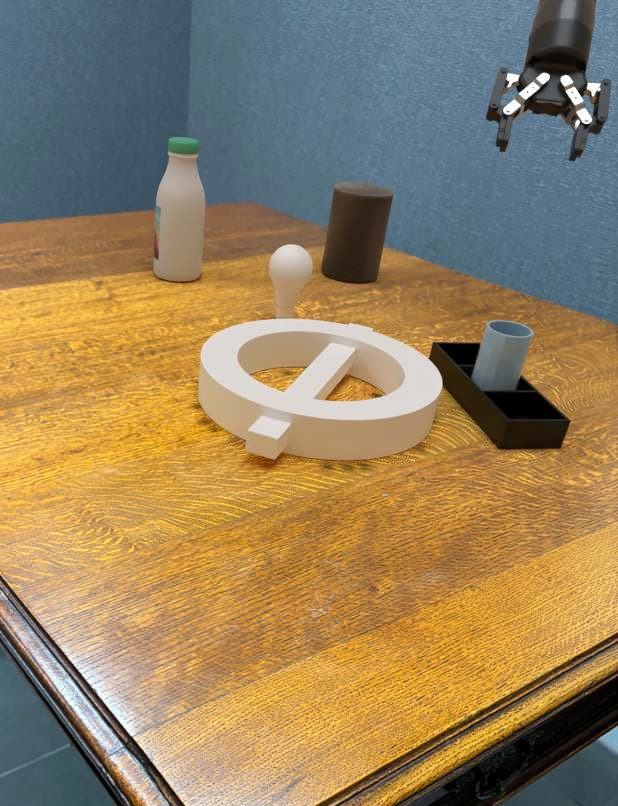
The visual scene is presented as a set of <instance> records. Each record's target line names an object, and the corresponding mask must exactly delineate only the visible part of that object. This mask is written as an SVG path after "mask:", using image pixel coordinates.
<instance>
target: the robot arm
mask: <svg viewBox="0 0 618 806" xmlns="http://www.w3.org/2000/svg"><path fill="white" fill-rule="evenodd" d="M597 3H598V0H538V4H537V9H536V12H535V16H534V19H533V20H532V25H531V30H530V33H529V35H528V45H527V48H526V49H527V50H526V53H525V60H524V65H523V69H522V70H523V71H522V72H521V73H520V74H515V73H509V68H508V67H507V66H502V67H500V68H499V69H498V71H497V75H496V79H495V83H494V85H493V89H492V93H491V97H490V100H489V104H488V107H487V110H486V111H487V112H486V114H485V119H486V121H488V122H493V121H494V122H496V123H497V124H498V129H497V133H496V138H495V146H496V148H499V152H500V153H506V151H507V148H508V145H509V142H510V141H509V140H510V136H511V131H512V126H513V123H514V122H515V121H516V120H520V118H522V117H523V116H524V115H525V114H527V113H528V112H529V111H530V112H531V114H533V115H548V116H550V117H556V118H557V117H558V116H559V115H560V116H561V119H563V121H564V122H565V124H566V125H567V126H570V127H571V129H572V130H573V132H574V133H573V135H572V140H571V146H570V150H569V157H568V161H569V162H574V163H575V162H576V160H577V158H581V156H582V155H583V154H584V152H585V150H586V147H587V142H588V136H589V134H593V135H599V134H601V132H602V130H603V127H604V126H605V123H606V122H607V120H608V118H609V110H610V103H611V102H610V100H611V90H612V80H611V79H610V78H603V79H602V80H601V82H600V83H596V82H588V79H587V76H586V73H587V67H588V62H589V57H590V51H591V48H592V47H591V46H592V41H593V35H594V32H595V31H594V30H595V24H596V8H597ZM514 87H515V88H516V91H517V93H518V94H517V95H516V96H515V98H514V99H513V100H512V101H511V102H509V103H508V104H507V105H506V106H504V105H502V104H501V102H502V97H503V95H506V94H507V93H508V92H510V90H511V89H513V88H514ZM585 95H586V96H587V97H588V99H589V101H590V105H593V109H592V116H591V114H590V113H589V111H588V110H587V108H586V105H585V104H586V103H585V101H584V99H583V97H584V96H585Z"/></svg>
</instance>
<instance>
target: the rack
mask: <svg viewBox="0 0 618 806" xmlns="http://www.w3.org/2000/svg"><path fill="white" fill-rule="evenodd" d="M480 344H481V342H466V341H465V342H462V341H461V342H459V341H458V342H456V341H454V342H453V341H445V342H444V341H432V343H431V348H430V353H429V356H428V359H429V360H430V361H431V362H432V363H433V364H434V365H435V366H436V368H437V369H438V371H439V372H440V374H441V377H442V383H443V384H442V387H444V388H445V389H446V390H447V392H448V393H449V394H450V395H451V396H452V397H453V399H454V400H455V401H456V402H457V403H458V405H460V406H461V408H462V409H463V410H464V411H465V412H466V413H467V415H468V416H469V417H470V418H471V419H472V420H473V421H474V422H475V424H476V425H477V426H478V427H479V428H480V429H481V431H483V432H484V433H485V435H486V436H487V437H488V438H489V439H490V440H491V442H492V443H493V444H494V445H495V446H496V447H497V449H498V450H501V449H502V450H518V449H519V450H520V449H521V450H522V449H527V450H528V449H529V450H530V449H561V448H562V445H563V443H564V441H565V437H566V435H567V433H568V430H569V428H570V424H571V422H572V420H571V419H570V418H569V417H567V415H566V414H564V412H562V411H561V409H559V408H558V407H557V406H555V404H554V403H552V401H550V400H549V399H548V398H547V397H546V396H545V395H544V394H542V392H541V391H540V390H538V389H537V387H535V386H534V385H533V384H532V383H531V382H529V380H528V379H526V378H525V377H524V375H522V374H521V376H520V379H519V382H518V386H517V389H516V391H482V390H481V389H480V388H479V387H478V386H477V385H476V384H475V383H474V382H473V381H472V380H471V375H472V372H473V368H474V365H475V361H476V358H477V354H478V351H479V347H480Z"/></svg>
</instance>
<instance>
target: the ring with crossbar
mask: <svg viewBox="0 0 618 806" xmlns="http://www.w3.org/2000/svg"><path fill="white" fill-rule="evenodd" d="M199 357H200V358H199V371H198V383H197V384H198V385H197V399H198V402H199V404H200V406H201V408H202V410H203V411H204V413H205V414H206V415H207V417H209V418H210V419H211V420H212V421H213V422H214V423H215V424H216V425H218V426H219V427H221V429H224V430H225V431H226V432H228V433H230V434H232V435H233V436H235V437H238V438H239V439H241V440H243V441H245V447H244V452H248V453H250V454H254V455H257V456H259V457H263V458H268V459H271V460H274V461H275V460H276V459H277V458H278V457H279V456H280V455H281V453H282V454H286V455H291V456H296V457H301V458H309V459H315V460H327V461H364V460H372V459H373V460H374V459H379V458H380V459H381V458H385V457H389V456H393V455H397V454H400V453H402V452H405V451H407V450H411V449H412V448H414V447H415V446H417V445H418V444H420V443H421V442H423V441H424V440H425V439H426V437H428V435H429V434H430V432H431V430H432V428H433V424H434V419H435V416H436V412H437V408H438V405H439V402H440V401H439V400H440V397H441V394H442V390H443V385H442V384H443V383H442V377H441V374H440V372H439V371H438V369H437V368H436V366H435V365H434V364H433V363H432V362H431V361H430V360H429V357H426V356H425V355H424V354H423V353H421V352H420V351H419V350H417V349H416V348H414V347H412V346H410V345H408V344H406V343H404V342H402V341H401V340H398V339H395V338H394V337H391V336H388V335H385V334H382V333H379V332H377V331H375V328H374V327H369V326H365V325H362V324H357V323H353V322H349V323H348V324H345V323H341V322H333V321H327V320H319V319H309V318H293V319H276V318H269V319H261V320H252V321H247V322H242V323H238V324H236V325H235V324H234V325H232V326H229V327H226V328H224V329H222V330H220V331H218V332H216V333H214V334H212V335H211V336H210V337H209V338H208V339H207V340H206V341H205V342H204V343H203V345H202V347H201V350H200V356H199ZM294 367H297V368H305V370H303V371H302V372H301V374H300V375H298V377H296V378H295V380H294V381H293V382H292V383H291V384H290V385H289V386H288V387H287V388H286V389H285V390H284V391H282V390H279V389H276V388H273V387H271V386H270V385H266V384H264V383H263V382H260V381H258V380H257V379H256V378H254V377H252V376H251V375H252V374H255V373H258V372H261V371H266V370H271V369H275V368H277V369H278V368H294ZM346 375H347V376H351V377H354V378H356V379H359V380H361V381H364V382H366V383H368V384H369V385H372V386H374V388H377V389H378V390H380V391H381V392H382V393H384V394H385V395H383V396H379V397H374V398H369V399H361V400H345V401H344V400H343V401H341V400H326V399H327V398H328V396H329V395H330V394H331V393H332V391H333V390H334V389H335V388H336V387H337V385H338V384H339V383H340V382H341V381H342V380H343V378H344V377H345V376H346Z"/></svg>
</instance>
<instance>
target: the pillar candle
mask: <svg viewBox="0 0 618 806" xmlns="http://www.w3.org/2000/svg"><path fill="white" fill-rule="evenodd" d="M393 200H394V191H393V190H391V188H388V187H384V186H380V185H377V184H372V183H371V184H370V183H366V180H365V179H364V180H363V183H362V182H351V181H344V182H339V183H336V184H334V187H333V193H332V199H331V205H330V212H329V218H328V225H327V231H326V237H325V243H324V249H323V253H322V254H323V255H322V261H321V265H320V268H321V269H320V270H321V272H322V274H324V276H326V277H328V278H330V279H333V280H337V281H341V282H347V283H354V284H364V283H371V282H374V281H376V280H377V279H378V278H379V277H378V276H379V271H380V267H381V262H382V258H383V257H382V256H383V252H384V246H385V241H386V235H387V230H388V225H389V219H390V215H391V210H392V204H393Z"/></svg>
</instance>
